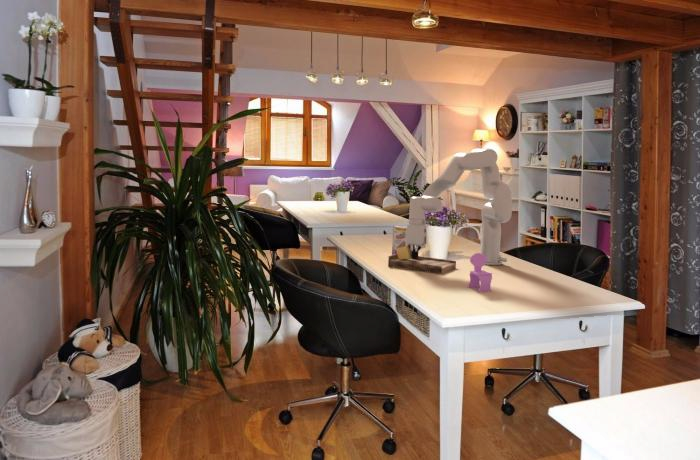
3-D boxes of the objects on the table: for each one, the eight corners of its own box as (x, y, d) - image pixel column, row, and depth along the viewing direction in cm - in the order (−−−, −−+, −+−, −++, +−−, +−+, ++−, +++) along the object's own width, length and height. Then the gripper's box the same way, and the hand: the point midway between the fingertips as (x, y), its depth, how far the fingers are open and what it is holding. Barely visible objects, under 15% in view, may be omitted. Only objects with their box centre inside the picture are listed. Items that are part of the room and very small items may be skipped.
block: (414, 256, 301) (411, 244, 301) (409, 257, 296) (406, 245, 296) (404, 258, 304) (401, 247, 305) (398, 260, 299) (395, 248, 300)
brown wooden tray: (455, 268, 297) (456, 258, 296) (441, 274, 282) (441, 263, 281) (404, 260, 311) (405, 251, 311) (388, 266, 296) (388, 256, 295)
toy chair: (476, 292, 248) (479, 256, 246) (465, 287, 256) (467, 252, 254) (493, 291, 251) (496, 255, 249) (481, 286, 259) (483, 252, 257)
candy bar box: (391, 257, 321) (392, 226, 319) (395, 255, 326) (397, 225, 323) (410, 259, 316) (411, 228, 313) (414, 258, 320) (415, 227, 318)
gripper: (433, 222, 295) (431, 259, 297) (406, 219, 302) (404, 255, 305) (427, 224, 288) (425, 261, 291) (399, 221, 296) (397, 257, 299)
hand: (414, 258), depth 298 cm, fingers closed
